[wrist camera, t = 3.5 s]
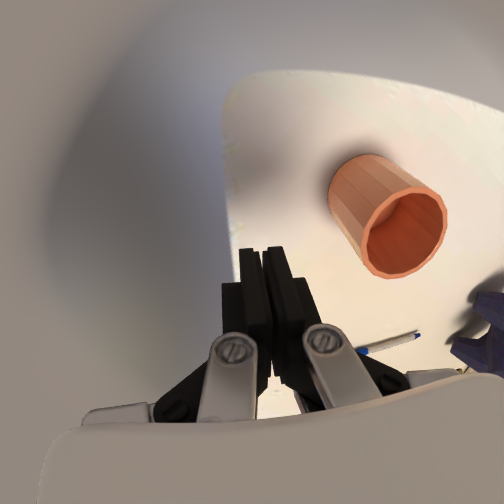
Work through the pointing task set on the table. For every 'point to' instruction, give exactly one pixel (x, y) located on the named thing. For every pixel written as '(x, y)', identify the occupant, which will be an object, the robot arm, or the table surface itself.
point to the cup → (387, 215)
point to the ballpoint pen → (388, 344)
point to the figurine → (485, 337)
